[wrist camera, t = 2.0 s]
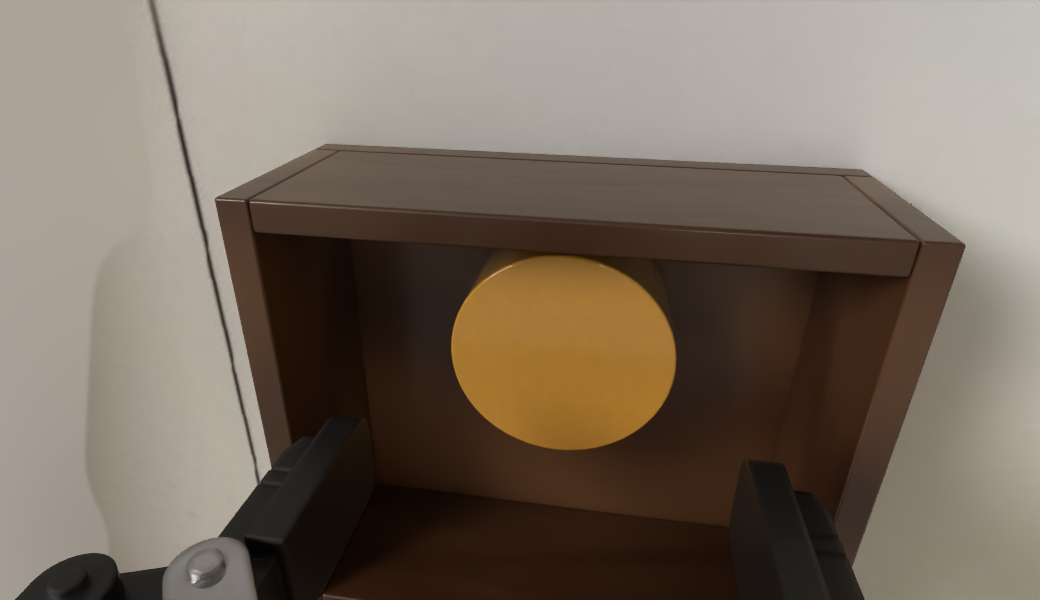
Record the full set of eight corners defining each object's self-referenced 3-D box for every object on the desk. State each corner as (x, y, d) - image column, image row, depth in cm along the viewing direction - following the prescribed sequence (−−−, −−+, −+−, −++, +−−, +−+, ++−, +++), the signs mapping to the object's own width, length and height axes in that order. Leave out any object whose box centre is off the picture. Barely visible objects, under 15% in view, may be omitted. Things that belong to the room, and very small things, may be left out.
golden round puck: (469, 213, 18) (445, 247, 16) (682, 226, 18) (692, 264, 15) (474, 387, 21) (454, 439, 19) (658, 405, 20) (663, 462, 18)
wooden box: (325, 143, 19) (213, 197, 14) (864, 169, 17) (968, 244, 12) (367, 482, 25) (300, 608, 20) (769, 531, 23) (810, 686, 18)
